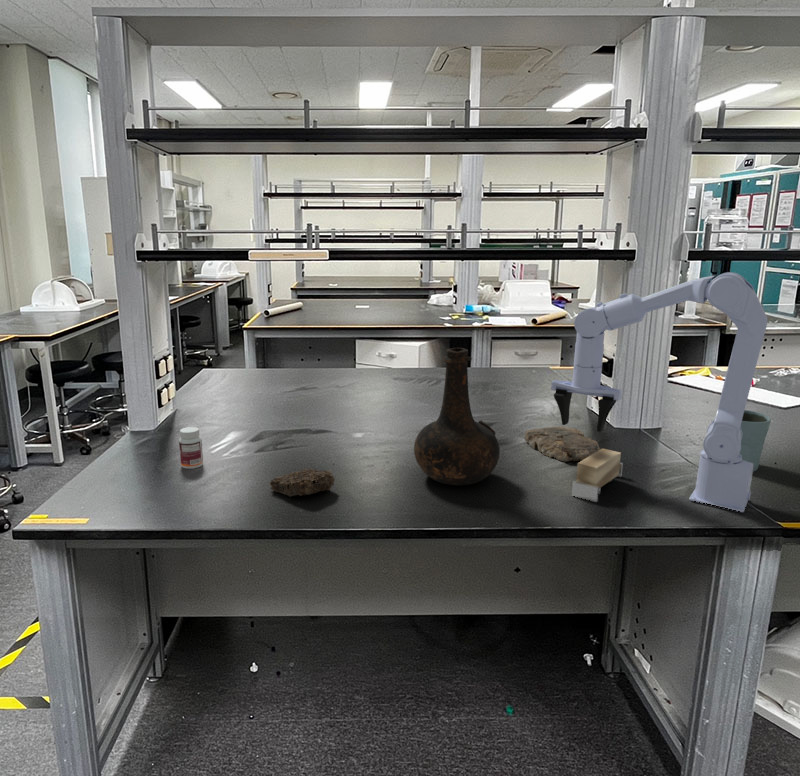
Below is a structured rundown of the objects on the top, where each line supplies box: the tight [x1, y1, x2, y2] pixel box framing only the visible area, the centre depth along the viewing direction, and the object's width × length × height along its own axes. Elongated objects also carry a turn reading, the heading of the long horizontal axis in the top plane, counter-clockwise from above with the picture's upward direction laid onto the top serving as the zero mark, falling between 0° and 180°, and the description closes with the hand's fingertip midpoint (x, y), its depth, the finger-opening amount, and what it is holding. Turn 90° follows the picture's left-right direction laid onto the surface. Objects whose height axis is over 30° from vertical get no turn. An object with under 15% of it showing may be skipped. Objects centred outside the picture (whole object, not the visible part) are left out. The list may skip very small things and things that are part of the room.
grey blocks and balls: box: [570, 462, 624, 503], centre depth 126 cm, size 5×17×3 cm, turn 144°
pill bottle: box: [178, 426, 204, 470], centre depth 135 cm, size 5×5×8 cm
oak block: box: [575, 448, 622, 488], centre depth 125 cm, size 4×12×5 cm, turn 139°
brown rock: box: [269, 468, 335, 497], centre depth 122 cm, size 12×10×5 cm
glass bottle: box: [413, 347, 501, 486], centre depth 127 cm, size 18×18×28 cm
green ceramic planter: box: [740, 409, 772, 472], centre depth 137 cm, size 10×10×12 cm
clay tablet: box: [524, 426, 601, 463], centre depth 146 cm, size 14×5×20 cm
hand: (582, 427), depth 131 cm, fingers open, 7 cm apart
